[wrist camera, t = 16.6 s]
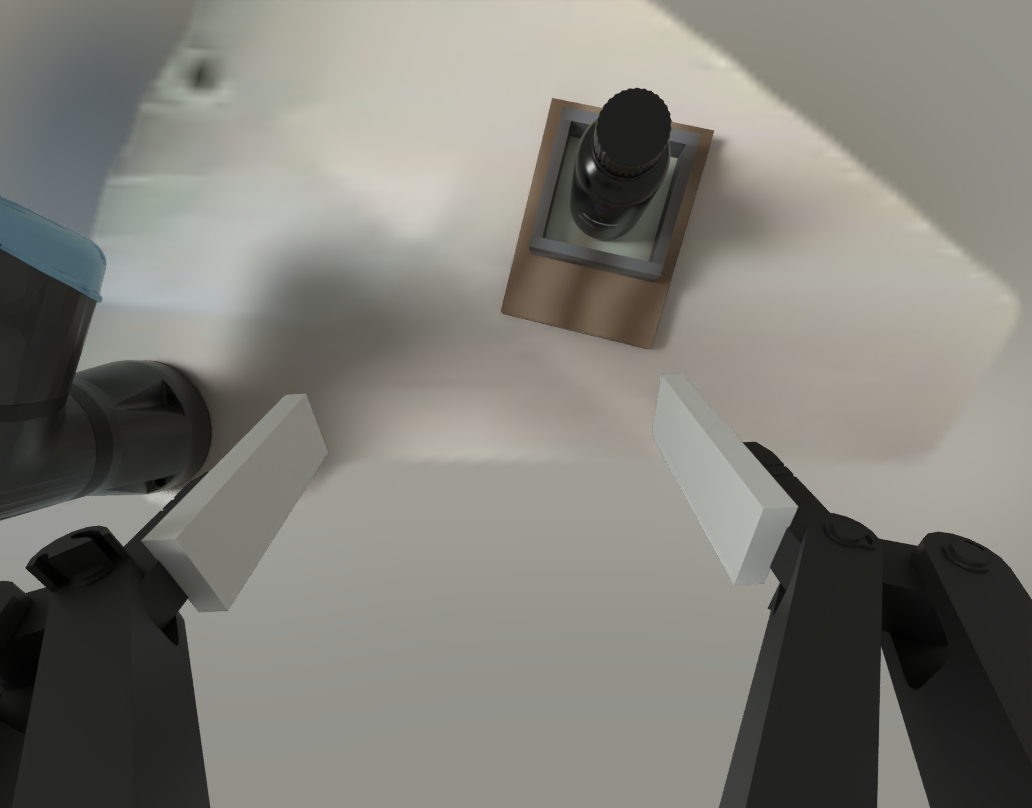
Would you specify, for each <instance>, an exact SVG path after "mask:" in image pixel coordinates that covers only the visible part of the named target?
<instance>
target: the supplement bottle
mask: <svg viewBox="0 0 1032 808" xmlns="http://www.w3.org/2000/svg"><path fill="white" fill-rule="evenodd" d="M671 122H672V120H671V119H670V112H669V111H668V107H667V105H665V104H664V101H663V100H662V99H660V98H659V96H658V95H657V94H654V93H653V92H652V91H647V90H646V89H639V88H635V89H632V88H629V89H627V90H623V91H621V92H620V93H618V94H615V95H614V97H613V98H611V99H609V100H608V102H607V103H606V104H605V105H604V106H603V109H602V110H601V111H600V113H599V116H598V117H597V118H596V119H595V120H594V121H593V122H592V123H591V124H590V125H589V126H588V127H587V129H586V130H585V132H584V133H583V135H582V137H581V139H580V141H579V144H578V147H577V151H576V156H575V164H574V171H573V179H572V187H571V195H570V210H571V214H572V217H573V220H574V222H575V223H576V225H577V226H578V228H579V229H580V230H581V231H582V232H583V233H585V234H586V235H588V236H590V237H592V238H595V239H599V240H611V239H615V238H618V237H620V236H622V235H624V234H626V233H627V232H629V231H630V230H631V229H632V228H633V227H634V226H635V225H636V223H637V222H638V220H639V219H640V218H641V216H642V214H643V213H644V211H645V210H646V208H647V207H648V205H649V203H650V202H651V200H652V199H653V197H654V195H655V194H656V192H657V191H658V189H659V187H660V186H661V184H662V182H663V180H664V178H665V176H666V174H667V171H668V168H669V164H670V155H671V152H670V143H669V139H670V132H671V129H672V128H671Z"/></svg>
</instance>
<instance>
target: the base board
mask: <svg viewBox="0 0 1032 808" xmlns="http://www.w3.org/2000/svg"><path fill="white" fill-rule="evenodd" d="M602 109H603V108H599V107H594V106H589V105H584V104H579V103H574V102H569V101H564V100H559V99H554V98H552V101H551V105H550V110H549V114H548V118H547V122H546V126H545V130H544V135H543V139H542V143H541V147H540V151H539V155H538V160H537V164H536V168H535V172H534V176H533V180H532V184H531V189H530V193H529V197H528V201H527V205H526V209H525V214H524V218H523V222H522V226H521V230H520V234H519V239H518V243H517V247H516V251H515V255H514V259H513V264H512V268H511V272H510V276H509V280H508V284H507V288H506V293H505V297H504V301H503V305H502V309H501V312H502V313H503V314H506V315H510V316H514V317H519V318H523V319H527V320H531V321H535V322H539V323H543V324H547V325H551V326H555V327H559V328H563V329H567V330H572V331H576V332H580V333H584V334H588V335H592V336H596V337H600V338H604V339H608V340H612V341H616V342H621V343H625V344H629V345H633V346H637V347H641V348H645V349H650V348H651V346H652V343H653V340H654V336H655V333H656V329H657V326H658V322H659V319H660V315H661V312H662V309H663V305H664V302H665V298H666V295H667V291H668V288H669V285H670V281H671V278H672V274H673V271H674V267H675V264H676V260H677V257H678V254H679V250H680V247H681V243H682V240H683V236H684V233H685V230H686V226H687V223H688V219H689V216H690V212H691V209H692V205H693V202H694V199H695V195H696V192H697V188H698V185H699V181H700V178H701V175H702V171H703V168H704V164H705V161H706V157H707V154H708V150H709V147H710V144H711V140H712V137H713V133H714V130H709V129H704V128H699V127H694V126H689V125H684V124H679V123H674V122H671V128H672V129H671V132H670V139H669V143H670V152H671V155H670V164H669V168H668V171H667V174H666V176H665V178H664V180H663V182H662V184H661V186H660V187H659V189H658V191H657V192H656V194H655V195H654V197H653V199H652V200H651V202H650V203H649V205H648V207H647V208H646V210H645V211H644V213H643V214H642V216H641V218H640V219H639V220H638V222H637V223H636V225H635V226H634V227H633V228H632V229H631V230H630V231H629V232H627V233H626V234H624V235H622V236H620V237H618V238H615V239H611V240H599V239H595V238H592V237H590V236H588V235H586V234H585V233H583V232H582V231H581V230H580V229H579V228H578V226H577V225H576V223H575V222H574V220H573V217H572V214H571V210H570V195H571V187H572V179H573V171H574V164H575V156H576V151H577V147H578V144H579V141H580V139H581V137H582V135H583V133H584V132H585V130H586V129H587V127H588V126H589V125H590V124H591V123H592V122H593V121H594V120H595V119H596V118H597V117H598V116H599V113H600V111H601V110H602Z"/></svg>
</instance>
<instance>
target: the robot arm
mask: <svg viewBox="0 0 1032 808" xmlns="http://www.w3.org/2000/svg"><path fill="white" fill-rule="evenodd" d="M105 270H106V258H105V255H104V253H103V252H102V250H101V249H100V248H99V247H98V245H96V244H95V243H94V242H93V241H92V240H90V239H89V238H87V237H86V236H84V235H82V234H81V233H79V232H77V231H75V230H73V229H71V228H69V227H67V226H65V225H63V224H61V223H59V222H57V221H55V220H53V219H50V218H48V217H46V216H44V215H42V214H40V213H38V212H35V211H33V210H31V209H29V208H26V207H24V206H22V205H20V204H18V203H15V202H13V201H11V200H9V199H6V198H4V197H2V196H0V521H1V520H4V519H7V518H11V517H15V516H18V515H22V514H25V513H28V512H32V511H35V510H39V509H42V508H45V507H49V506H52V505H56V504H59V503H63V502H65V501H69V500H73V499H77V498H80V497H84V496H106V495H145V494H152V493H156V492H160V491H163V490H166V489H169V488H172V487H175V486H178V485H180V484H182V483H184V482H186V481H187V480H189V479H190V478H191V477H192V476H193V475H194V474H195V473H196V472H197V471H198V470H199V469H200V467H201V466H202V464H203V462H204V460H205V458H206V456H207V453H208V449H209V445H210V437H211V428H210V420H209V415H208V412H207V408H206V406H205V403H204V401H203V399H202V397H201V395H200V394H199V392H198V391H197V389H196V388H195V387H194V385H193V384H192V383H191V382H190V381H189V380H188V379H187V378H186V377H185V376H184V375H183V374H181V373H180V372H179V371H177V370H175V369H174V368H172V367H170V366H168V365H165V364H162V363H159V362H155V361H137V360H126V361H116V362H111V363H108V364H104V365H101V366H97V367H94V368H90V369H87V370H83V371H80V372H77V373H75V372H76V369H77V366H78V362H79V359H80V356H81V352H82V349H83V346H84V342H85V339H86V336H87V333H88V329H89V326H90V323H91V319H92V316H93V313H94V309H95V306H96V303H97V302H102V296H101V295H100V291H101V286H102V282H103V278H104V274H105ZM652 437H653V439H654V441H655V443H656V444H657V446H658V448H659V450H660V452H661V454H662V455H663V457H664V459H665V461H666V463H667V464H668V466H669V468H670V470H671V472H672V474H673V475H674V477H675V479H676V481H677V483H678V484H679V486H680V488H681V490H682V492H683V494H684V495H685V497H686V499H687V501H688V503H689V504H690V506H691V508H692V510H693V512H694V513H695V515H696V517H697V519H698V521H699V523H700V524H701V526H702V528H703V530H704V532H705V533H706V535H707V537H708V539H709V541H710V543H711V544H712V546H713V548H714V550H715V552H716V553H717V555H718V557H719V559H720V561H721V563H722V564H723V566H724V568H725V570H726V572H727V573H728V575H729V577H730V579H731V581H732V583H733V584H734V585H751V584H764V582H765V580H766V578H767V575H768V573H769V571H770V569H771V570H772V571H773V573H774V574H775V576H776V577H777V579H778V580H779V582H780V584H779V586H778V588H777V590H776V592H775V594H774V596H773V598H772V600H771V603H770V605H769V607H768V609H770V610H771V612H770V616H769V620H768V624H767V628H766V631H765V635H764V639H763V643H762V646H761V650H760V654H759V658H758V662H757V665H756V669H755V673H754V677H753V681H752V684H751V688H750V692H749V696H748V700H747V703H746V708H745V711H744V715H743V719H742V723H741V726H740V730H739V734H738V738H737V742H736V745H735V749H734V753H733V757H732V761H731V764H730V768H729V772H728V775H727V780H726V783H725V787H724V791H723V795H722V799H721V802H720V806H719V808H877V790H878V747H879V706H880V705H879V703H880V662H881V647H882V650H883V654H884V657H885V660H886V663H887V667H888V670H889V673H890V676H891V680H892V683H893V686H894V690H895V693H896V696H897V699H898V703H899V706H900V710H901V713H902V716H903V719H904V723H905V726H906V729H907V732H908V736H909V739H910V743H911V746H912V749H913V753H914V756H915V759H916V762H917V766H918V769H919V772H920V776H921V778H922V782H923V785H924V789H925V792H926V795H927V799H928V802H929V805H930V808H1032V599H1031V598H1030V596H1029V595H1028V593H1027V592H1026V590H1025V589H1024V588H1023V586H1022V584H1021V583H1020V581H1019V580H1018V578H1017V577H1016V575H1015V574H1014V572H1013V571H1012V569H1011V568H1010V567H1009V566H1008V565H1007V564H1006V563H1005V562H1004V561H1003V559H1002V558H1000V557H999V556H998V555H996V554H995V553H993V552H992V551H991V550H989V549H988V548H986V547H984V546H982V545H981V544H979V543H976V542H975V541H972V540H970V539H968V538H964V537H961V536H958V535H955V534H951V533H944V532H934V533H928V534H927V535H926V536H925V537H924V538H923V540H922V541H921V542H920V544H919V545H918V546H915V545H909V544H905V543H899V542H893V541H889V540H883V539H879V538H878V537H877V536H876V535H875V534H874V533H873V532H872V531H871V530H870V529H868V528H867V527H865V526H864V525H863V524H861V523H859V522H857V521H855V520H853V519H851V518H848V517H846V516H842V515H838V514H835V513H830V512H829V511H828V510H827V509H826V508H825V507H824V506H823V505H822V504H821V503H820V502H819V501H818V500H817V498H816V497H815V496H814V495H813V494H812V493H811V492H810V491H809V490H808V489H807V488H806V487H805V486H804V485H803V484H802V483H801V482H800V481H799V479H797V477H794V476H793V473H792V472H791V471H790V470H789V469H788V468H787V467H784V464H783V463H782V462H781V460H780V459H779V458H778V457H777V456H776V455H775V454H774V453H773V452H772V451H770V450H768V449H767V448H765V447H763V446H762V445H760V444H758V443H757V442H742V441H741V440H740V439H739V438H738V437H737V436H736V435H735V433H734V432H733V431H732V430H731V429H730V428H729V427H728V425H727V424H726V423H725V422H724V421H723V420H722V418H721V417H720V416H719V415H718V414H717V413H716V412H715V410H714V409H713V408H712V407H711V406H710V405H709V404H708V402H707V401H706V400H705V399H704V398H703V397H702V396H701V394H700V393H699V392H698V391H697V390H696V389H695V387H694V386H693V385H692V384H691V383H690V382H689V381H688V379H687V378H686V377H685V376H684V375H683V374H682V373H676V374H661V379H660V385H659V391H658V398H657V404H656V410H655V417H654V423H653V429H652ZM327 454H328V451H327V448H326V445H325V443H324V440H323V437H322V435H321V432H320V429H319V427H318V424H317V421H316V419H315V416H314V413H313V411H312V408H311V405H310V403H309V400H308V397H307V395H306V394H289V395H285V396H284V397H283V398H282V399H281V400H280V401H279V402H278V403H277V404H276V405H275V406H274V407H273V408H272V409H271V410H270V411H269V412H268V413H267V414H266V415H265V416H264V417H263V418H262V419H261V420H260V421H259V422H258V423H257V424H256V425H255V426H254V427H253V428H252V429H251V430H250V431H249V432H248V433H247V434H246V435H245V436H244V437H243V438H242V439H241V440H240V441H239V442H238V443H237V444H236V445H235V446H234V447H233V448H232V449H231V450H230V451H229V452H228V453H227V454H226V455H225V456H224V457H223V458H222V459H221V460H220V462H219V463H218V464H217V465H216V466H215V467H214V468H213V469H212V470H211V471H210V472H205V473H204V474H202V475H201V476H199V477H198V478H196V479H194V480H193V481H191V482H190V483H188V484H187V485H186V486H185V487H184V488H183V489H182V490H181V491H180V492H179V493H178V494H177V495H176V496H175V497H174V500H171V501H170V502H169V503H168V504H167V505H166V506H165V507H164V508H163V511H160V512H159V513H158V514H157V515H156V516H155V517H154V518H152V519H151V520H150V521H149V522H148V523H147V524H146V525H145V526H144V527H143V528H142V529H141V530H140V531H139V532H138V533H137V534H136V535H135V536H134V537H133V538H132V539H131V540H130V541H129V542H128V543H127V544H126V545H125V546H124V547H123V546H122V545H121V543H120V542H119V541H118V540H117V539H116V538H115V536H114V535H113V534H112V533H111V532H110V531H109V529H108V528H107V527H103V526H92V527H86V528H83V529H80V530H77V531H74V532H71V533H69V534H67V535H65V536H63V537H61V538H58V539H56V540H55V541H53V542H52V543H50V544H49V545H47V546H46V547H44V548H43V549H41V550H40V551H39V552H38V553H37V554H36V555H35V556H33V557H32V558H31V559H30V561H29V563H28V564H27V566H26V569H27V570H28V571H29V572H30V573H31V574H32V575H34V576H35V577H36V578H37V579H38V580H39V581H40V582H41V583H42V584H43V585H44V586H46V587H45V588H42V589H38V590H35V591H31V592H28V593H24V592H23V591H22V590H21V589H20V588H19V587H18V586H16V585H15V584H14V583H13V582H9V581H0V808H210V802H209V796H208V789H207V781H206V773H205V766H204V759H203V753H202V745H201V737H200V730H199V723H198V716H197V709H196V701H195V694H194V687H193V679H192V673H191V665H190V658H189V651H188V643H187V636H186V629H185V622H184V619H183V617H182V616H181V614H180V613H179V612H178V611H179V610H180V608H181V607H182V606H183V604H184V603H185V602H186V600H187V599H189V601H190V602H191V603H192V604H193V605H194V607H195V608H196V609H197V611H198V612H214V611H228V610H229V609H230V607H231V606H232V604H233V602H234V601H235V599H236V597H237V596H238V594H239V593H240V591H241V590H242V588H243V587H244V585H245V583H246V582H247V580H248V578H249V577H250V576H251V574H252V572H253V571H254V569H255V567H256V566H257V564H258V563H259V561H260V560H261V558H262V557H263V555H264V553H265V552H266V550H267V549H268V547H269V545H270V544H271V542H272V541H273V539H274V538H275V536H276V534H277V533H278V531H279V530H280V528H281V527H282V525H283V523H284V522H285V520H286V519H287V517H288V515H289V514H290V512H291V511H292V509H293V508H294V506H295V504H296V503H297V501H298V500H299V498H300V496H301V495H302V493H303V492H304V490H305V489H306V487H307V485H308V484H309V482H310V481H311V479H312V478H313V476H314V474H315V473H316V471H317V470H318V468H319V466H320V465H321V463H322V462H323V460H324V459H325V457H326V455H327Z"/></svg>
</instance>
